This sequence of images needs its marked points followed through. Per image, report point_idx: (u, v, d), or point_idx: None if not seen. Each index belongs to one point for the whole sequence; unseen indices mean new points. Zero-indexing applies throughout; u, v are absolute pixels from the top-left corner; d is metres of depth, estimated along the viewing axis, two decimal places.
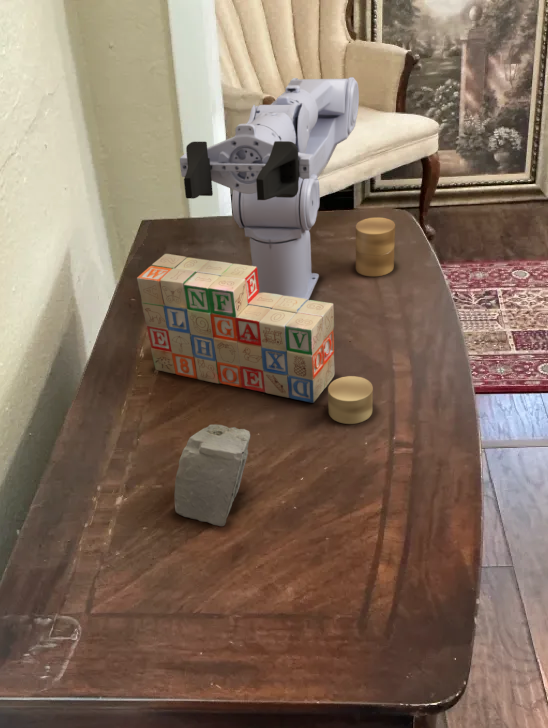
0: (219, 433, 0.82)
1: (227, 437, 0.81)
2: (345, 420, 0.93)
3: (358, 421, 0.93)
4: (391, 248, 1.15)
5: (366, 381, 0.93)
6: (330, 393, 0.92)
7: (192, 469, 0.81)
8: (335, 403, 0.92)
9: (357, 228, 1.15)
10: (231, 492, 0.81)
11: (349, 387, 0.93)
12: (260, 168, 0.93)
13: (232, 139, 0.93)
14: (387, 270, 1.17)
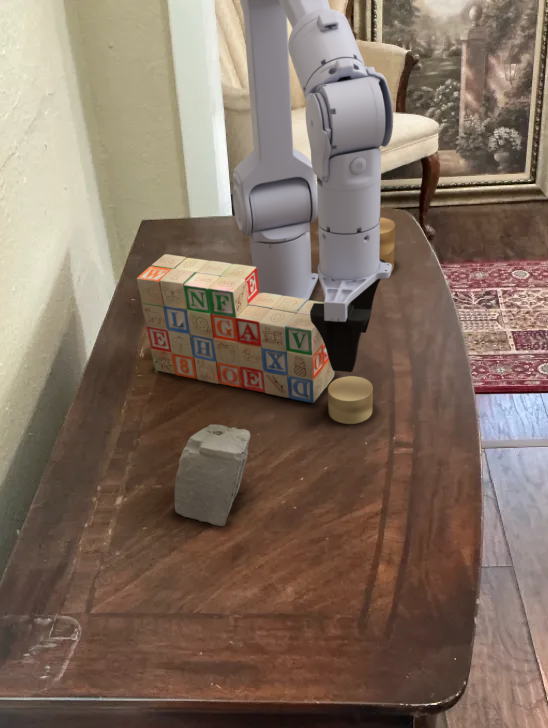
0: (219, 433, 0.82)
1: (227, 437, 0.81)
2: (345, 420, 0.93)
3: (358, 421, 0.93)
4: (391, 248, 1.15)
5: (366, 381, 0.93)
6: (330, 393, 0.92)
7: (192, 469, 0.81)
8: (335, 403, 0.92)
9: None
10: (231, 492, 0.81)
11: (349, 387, 0.93)
12: None
13: (373, 281, 0.82)
14: None
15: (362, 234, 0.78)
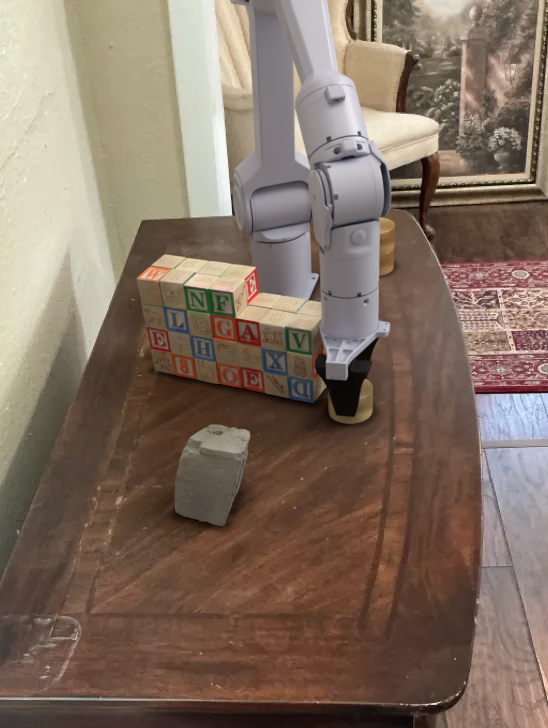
0: (219, 433, 0.82)
1: (227, 437, 0.81)
2: (345, 420, 0.93)
3: (358, 421, 0.93)
4: (391, 248, 1.15)
5: (366, 381, 0.93)
6: None
7: (192, 469, 0.81)
8: None
9: None
10: (231, 492, 0.81)
11: None
12: None
13: (373, 340, 0.87)
14: (387, 270, 1.17)
15: (362, 298, 0.83)
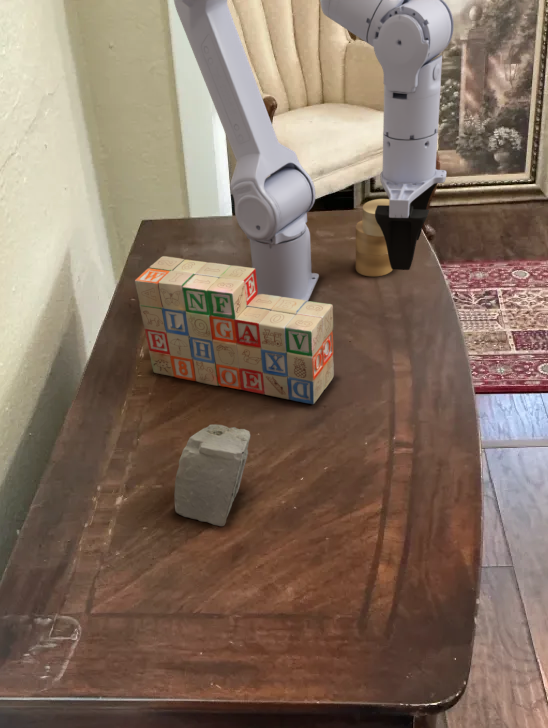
0: (219, 433, 0.82)
1: (227, 437, 0.81)
2: (375, 233, 1.12)
3: None
4: None
5: None
6: (364, 209, 1.12)
7: (192, 469, 0.81)
8: (368, 217, 1.11)
9: (357, 228, 1.15)
10: (231, 492, 0.81)
11: None
12: None
13: (431, 185, 0.93)
14: (387, 270, 1.17)
15: (423, 140, 0.90)
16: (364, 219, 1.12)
